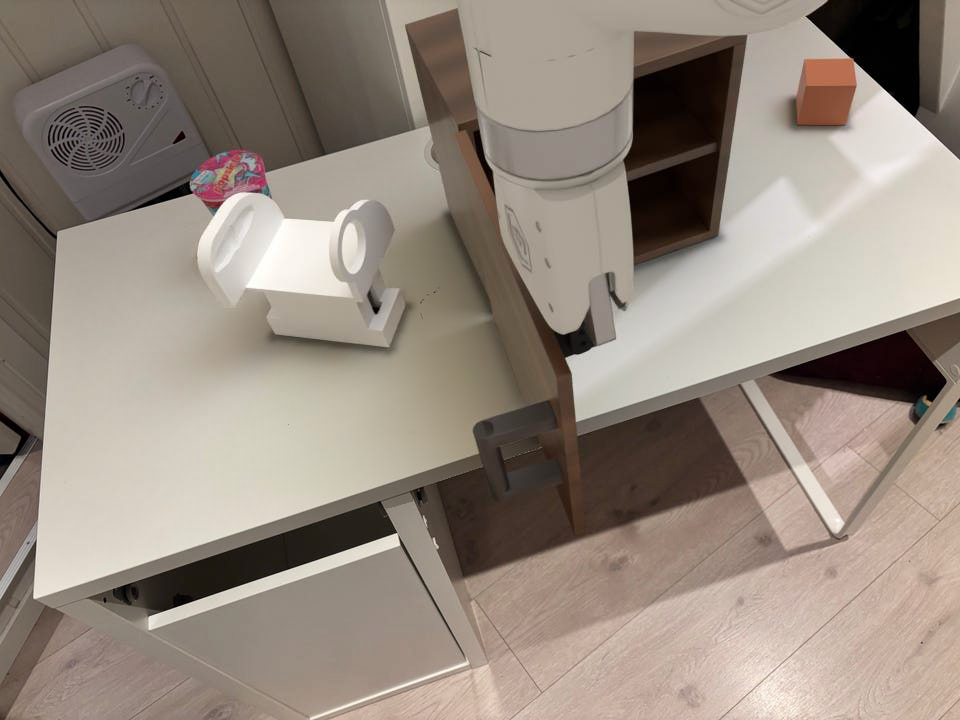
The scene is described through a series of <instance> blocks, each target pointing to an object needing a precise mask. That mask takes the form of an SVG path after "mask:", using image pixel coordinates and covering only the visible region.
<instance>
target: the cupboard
mask: <svg viewBox="0 0 960 720" xmlns="http://www.w3.org/2000/svg"><path fill="white" fill-rule="evenodd" d="M404 28H405V32H406V36H407V40H408V44H409V49H410V53H411V57H412V62H413V65H414V69H415V74H416V77H417V82H418V87H419V90H420V95H421V99H422V103H423V106H424V111H425V115H426V119H427V123H428V128H429V132H430V136H431V140H432V144H433V147H434V153H435V157H436V161H437V165H438V169H439V173H440V177H441V182H442V185H443V190H444V195H445V198H446V201H447V206H448V210H449V211H448V212H449V213H450V216H451V218H452V220H453V223H454V225H455V226H456V228H457V231H458V234H459V235H460V238H461V239H462V242H463V244H464V246H465V248H466V251H467V253H468V255H469V258H470V259H471V262H472V264H473V266H474V268H475V270H476V272H477V275H478V277H479V279H480V281H481V284H482V286H483V288H484V290H485V293H486V294H487V297H488V298H489V294H488V290H487V285H486V280H485V275H484V271H483V266H482V261H481V256H480V252H479V247H478V242H477V237H476V233H475V228H474V223H473V218H472V214H471V209H470V204H469V199H468V195H467V190H466V185H465V181H464V176H463V171H462V166H461V162H460V157H459V152H458V147H457V143H456V138H455V133H457V132H460V131H463V130H466V131H467V133H468V136H469V138H470V140H471V143H472V145H473V147H474V150H475V152H476V154H477V156H478V159H479V161H480V163H481V166H482V168H483V170H484V173H485V175H486V177H487V179H488V182H489V184H490V186H491V189H492V191H493V193H494V196H495V198H496V195H495V186H494V178H493V170H492V169H491V168H490V166H489V164H488V163H487V161H486V158H485V154H484V149H483V144H482V139H481V133H480V128H479V122H478V117H477V111H476V106H475V101H474V94H473V89H472V83H471V78H470V72H469V66H468V60H467V55H466V49H465V44H464V39H463V34H462V29H461V23H460V18H459V13H458V7H456V8H453V9H450V10H447V11H443V12H440V13H437V14H434V15H431V16H428V17H425V18H421V19H418V20H415V21H412V22H409V23H406V24H404ZM747 40H748V35H736V36H707V35H688V34H674V33H660V32H642V31H634V71H633V139H632V144H631V147H630V149H629V151H628V153H627V155H626V156H625V158H624V159H623V162H624V165H625V171H626V178H627V186H628V194H629V203H630V213H631V225H632V239H633V265H634V266H635V265H640V264H641V263H645V262H647V261H650V260H653V259H655V258H658V257H661V256H664V255H667V254H670V253H673V252H676V251H679V250H681V249H684V248H688V247H690V246H693V245H696V244H699V243H701V242H704V241H707V240H711V239H714V238H717V237H718V236H719V233H720V226H721V219H722V214H723V213H722V212H723V205H724V200H725V193H726V186H727V179H728V172H729V166H730V165H729V164H730V158H731V151H732V144H733V137H734V131H735V124H736V118H737V110H738V103H739V98H740V97H739V96H740V90H741V82H742V77H743V69H744V63H745V57H746V56H745V55H746V50H747Z"/></svg>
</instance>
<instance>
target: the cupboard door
mask: <svg viewBox="0 0 960 720" xmlns="http://www.w3.org/2000/svg"><path fill="white" fill-rule="evenodd" d="M455 138H456V143H457V147H458V152H459V157H460V162H461V166H462V171H463V176H464V181H465V185H466V190H467V195H468V199H469V204H470V209H471V214H472V218H473V223H474V228H475V233H476V237H477V242H478V247H479V252H480V256H481V261H482V266H483V271H484V275H485V280H486V285H487V290H488V294H489V297H488V299H489V304H490V309H491V313H492V317H493V321H494V323H495V327H496V329H497V332H498V334H499V337H500V340H501V342H502V345H503V349H504V350H505V353H506V357H507V359H508V361H509V364H510V367H511V369H512V372H513V375H514V377H515V380H516V383H517V385H518V388H519V391H520V393H521V396H522V399H523V402H524V404H525V406H523V407H520V408H518V409H517V408H516V409H514V410H511V411H507V412H504V413H501V414H497V415H494V416H491V417H488V418H485V419H482V420H479V421H478V422H476V423H475V424H474V426H473V428H472V434H473V437H474V441H475V445H476V447H477V448H476V449H477V450H478V454H479V458H480V461H481V464H482V467H483V471H484V473H485V478H486V481H487V484H488V487H489V489H490V494H491V497H492V499H493V500H494V501H495V502H497V503H505V502H508V501H511V500H515V499H519V498H521V497H525V496H527V495H530V494H535V493H538V492H540V491H544V490H547V489H550V488H554V487H556V490H557V492H558V495H559V498H560V500H561V504H562V506H563V509H564V511H565V515H566V518H567V520H568V523H569V525H570V528H571V530H572V533H573V536H574V537H575V538H576V537H580V536H584V535H586V534H587V533H586V520H585V510H584V509H585V508H584V499H583V497H584V496H583V486H582V485H583V484H582V476H581V475H582V473H581V464H580V453H579V441H578V430H577V418H576V406H575V393H574V383H573V374H572V373H573V372H572V370H571V367H570V365H569V363H568V361H567V359H566V358H565V356H564V354H563V352H562V350H561V347H560V345H559V343H558V340H557V338H556V336H555V334H554V331H553V329H552V328H551V327H550V326H549V325H548V323H547V322H546V320H545V319H544V317H543V315H542V313H541V312H540V310H539V308H538V306H537V305H536V303H535V301H534V299H533V297H532V296H531V294H530V292H529V290H528V288H527V287H526V285H525V283H524V281H523V279H522V278H521V276H520V274H519V272H518V270H517V268H516V266H515V264H514V263H513V261H512V259H511V257H510V255H509V253H508V251H507V249H506V247H505V244H504V242H503V239H502V236H501V232H500V226H499V218H498V211H497V203H496V198H495V196H494V193H493V191H492V189H491V186H490V184H489V182H488V179H487V177H486V175H485V173H484V170H483V168H482V166H481V163H480V161H479V159H478V156H477V154H476V152H475V150H474V147H473V145H472V143H471V140H470V138H469V136H468V133H467V131H466V130H463V131H460V132H457V133H455ZM532 437H537V439H538V442H539V444H540V447H541V450H542V452H543V455H544V458H545V460H544V461H540V462H537V463H534V464H530V465H528V466H524V467H522V468H518V469H515V470H512V471H509V472H507V468H506V465H505V461H504V457H503V453H502V450H501V449H502V448H501V447H504V446H507V445H510V444H513V443H516V442H520V441H524V440H526V439H529V438H532Z"/></svg>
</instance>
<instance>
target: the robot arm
mask: <svg viewBox="0 0 960 720" xmlns="http://www.w3.org/2000/svg"><path fill="white" fill-rule="evenodd" d="M455 1H456V8H458V13H459V18H460V23H461V29H462V34H463V39H464V44H465V49H466V55H467V60H468V66H469V72H470V78H471V83H472V89H473V94H474V101H475V106H476V111H477V117H478V122H479V128H480V133H481V139H482V144H483V149H484V154H485V158H486V161H487V163H488V164H489V166H490V168H491V169H492V170H493V178H494V186H495V195H496V203H497V211H498V218H499V226H500V232H501V236H502V239H503V242H504V244H505V247H506V249H507V251H508V253H509V255H510V257H511V259H512V261H513V263H514V264H515V266H516V268H517V270H518V272H519V274H520V276H521V278H522V279H523V281H524V283H525V285H526V287H527V288H528V290H529V292H530V294H531V296H532V297H533V299H534V301H535V303H536V305H537V306H538V308H539V310H540V312H541V313H542V315H543V317H544V319H545V320H546V322H547V323H548V325H549V326H550V327H551V328H552V329H553V331H554V334H555V336H556V338H557V340H558V343H559V345H560V347H561V350H562V352H563V354H564V356H565V359H566V358H569V357H571V356H577V355H578V356H579V355H582V354H584V353H587V352H589V351H590V350H591V349H592V348H595V347H600V346H602V345H605V344H608V343H610V342H613V341H616V340H617V334H616V327H615V321H614V313H613V307H612V301H613V303H614V304H615V306H616V308H617V309H618V310H621V311H622V312H626V311H627V310H628V309H629V307H630V305H631V302H632V298H633V291H634V275H635V274H634V273H635V271H634V270H635V269H634V266H635V265H633V239H632V225H631V213H630V203H629V194H628V186H627V178H626V171H625V165H624V162H623V159H624V158H625V156H626V155H627V153H628V151H629V149H630V147H631V144H632V139H633V71H634V31H642V32H660V33H674V34H688V35H707V36H736V35H747V36H749V35H754V34H759V33H765V32H768V31H769V32H770V31H774V30H777V29H780V28H783V27H785V26H788V25H790V24H793V23H795V22H797V21H799V20H801V19H803V18H805V17H807V16H809V15H810V14H812V13H813V12H815V11H816V10H818V9H819V8H820V7H822V6H823V5H824V4H826V3H827V2H828V1H829V0H455ZM611 299H612V301H611Z"/></svg>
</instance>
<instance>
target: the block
mask: <svg viewBox="0 0 960 720" xmlns="http://www.w3.org/2000/svg"><path fill="white" fill-rule="evenodd" d="M802 63H803V64H802V69H801V73H800V77H799V83H798V86H797V91H796V96H795V104H796V106H795V109H796V124H797V126H846V125H847V122H848V118H849V114H850V111H851V108H852V104H853V100H854V98H855V97H854V96H855V94H856V90H857V87H858V83H857V76H856V68H855V61H854V58H852V57H851V58H804V60H803V62H802Z"/></svg>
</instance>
